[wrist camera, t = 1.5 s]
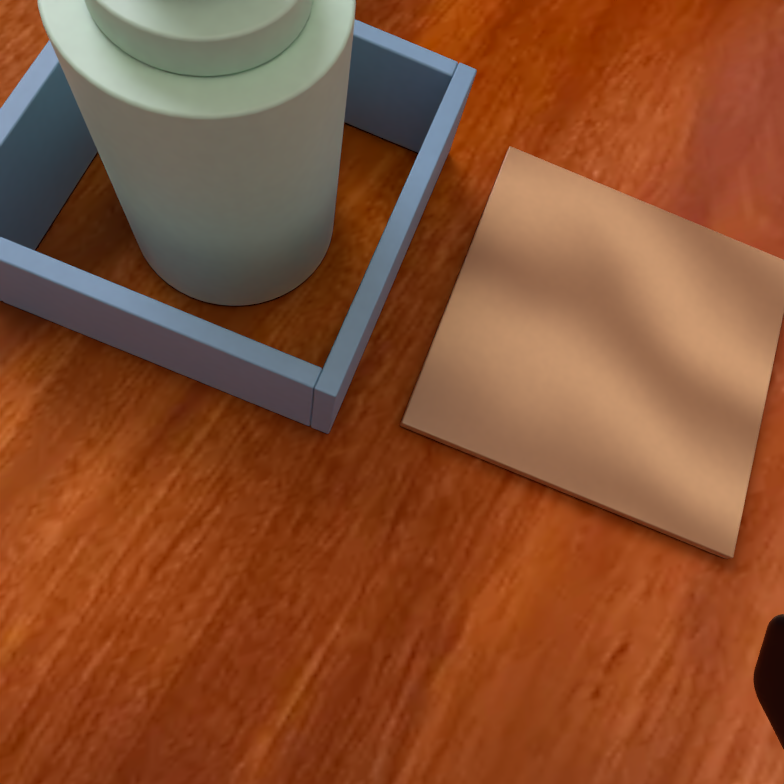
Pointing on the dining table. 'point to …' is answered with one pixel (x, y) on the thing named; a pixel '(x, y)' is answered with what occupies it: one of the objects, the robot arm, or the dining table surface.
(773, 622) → the robot arm
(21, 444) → the dining table surface
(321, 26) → the water bottle
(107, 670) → the dining table surface
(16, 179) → the open rectangular frame
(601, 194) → the cork mat
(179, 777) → the dining table surface
